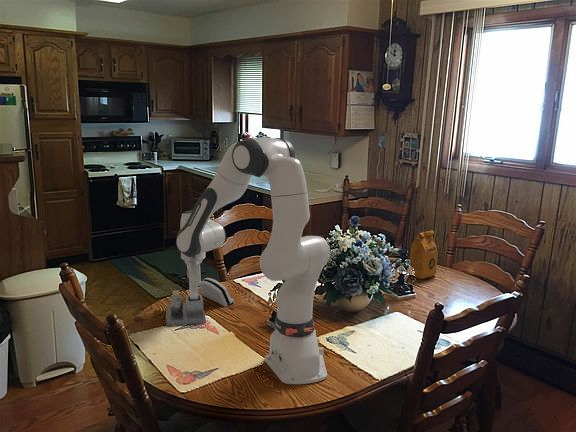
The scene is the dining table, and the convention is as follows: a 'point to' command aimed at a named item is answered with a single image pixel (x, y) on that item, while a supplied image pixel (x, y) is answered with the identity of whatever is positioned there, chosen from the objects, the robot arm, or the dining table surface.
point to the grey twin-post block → (184, 310)
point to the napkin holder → (215, 291)
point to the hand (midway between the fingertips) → (193, 288)
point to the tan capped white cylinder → (192, 294)
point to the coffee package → (424, 255)
